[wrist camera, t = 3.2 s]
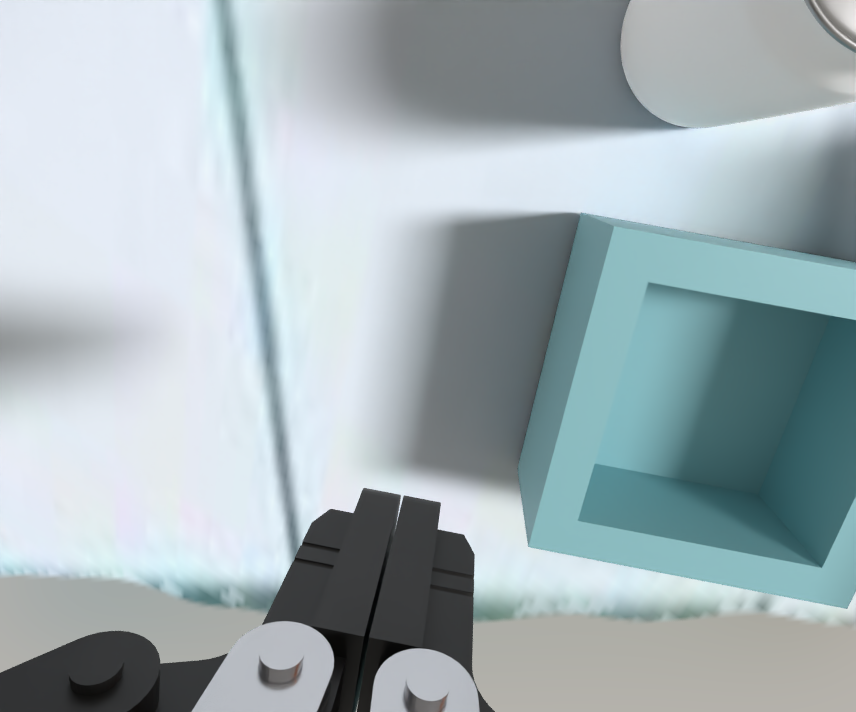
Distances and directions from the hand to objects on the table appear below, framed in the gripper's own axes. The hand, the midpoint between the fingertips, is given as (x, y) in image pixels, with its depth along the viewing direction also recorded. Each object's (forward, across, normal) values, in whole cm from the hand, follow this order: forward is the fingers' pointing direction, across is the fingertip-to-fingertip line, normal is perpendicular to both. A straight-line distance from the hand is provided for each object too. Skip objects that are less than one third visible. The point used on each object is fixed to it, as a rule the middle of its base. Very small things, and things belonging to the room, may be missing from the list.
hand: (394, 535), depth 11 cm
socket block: (+15, -11, 0) cm, 19 cm away
